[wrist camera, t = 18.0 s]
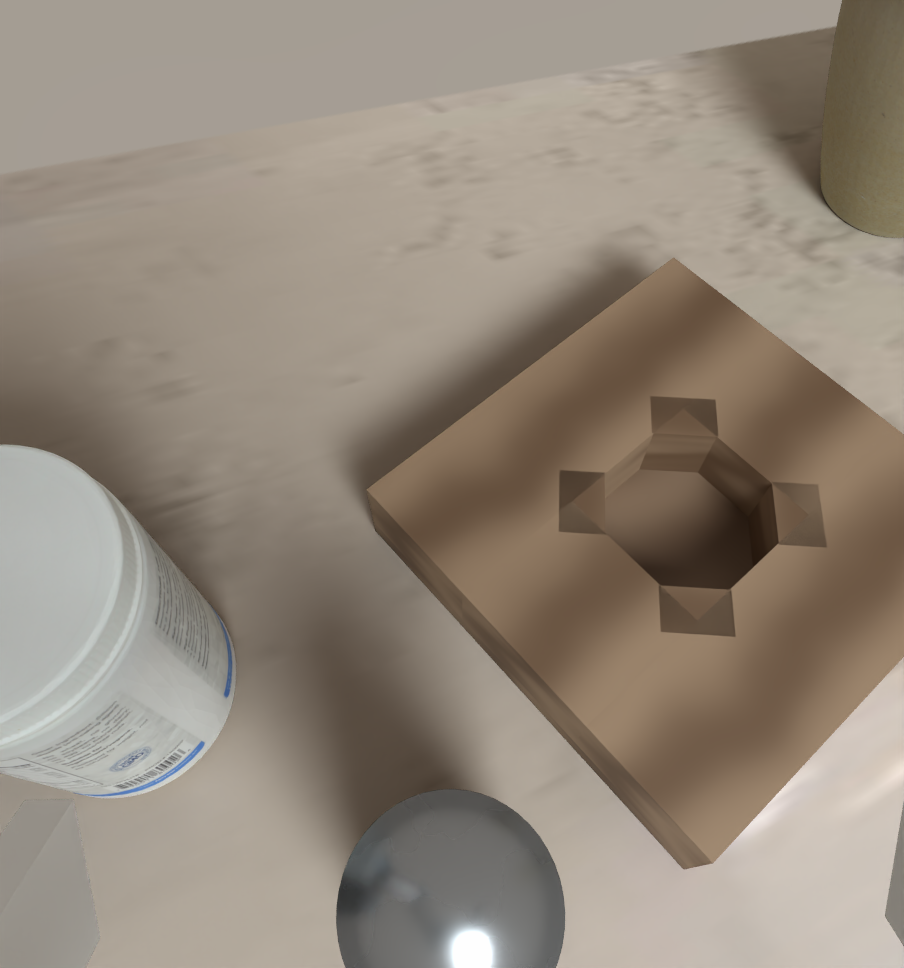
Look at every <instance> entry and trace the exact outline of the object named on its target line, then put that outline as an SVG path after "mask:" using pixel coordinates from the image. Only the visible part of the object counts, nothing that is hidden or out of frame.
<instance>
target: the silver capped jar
mask: <svg viewBox="0 0 904 968" xmlns="http://www.w3.org/2000/svg"><path fill="white" fill-rule="evenodd" d="M336 925H337V935H338V942H339V947H340V951H341V956H342V959H343V962H344V965H345V967H346V968H556V966H557V963H558V960H559V956H560V953H561V949H562V944H563V937H564V930H565V906H564V896H563V891H562V886H561V881H560V878H559V875H558V872H557V869H556V866H555V863H554V861H553V859H552V857H551V855H550V853H549V851H548V849H547V847H546V846H545V844H544V843H543V841H542V840H541V838H540V836H539V835H538V834H537V833H536V832H535V830H534V829H533V828H532V827H531V825H530V824H529V823H528V822H527V821H525V820H524V819H523V818H522V817H521V816H520V815H519V814H518V813H516V812H515V811H514V810H512V809H511V808H510V807H508V806H507V805H505V804H503V803H501V802H499V801H498V800H496V799H494V798H491V797H488V796H486V795H483V794H480V793H476V792H472V791H467V790H457V789H445V790H435V791H430V792H425V793H422V794H419V795H416V796H413V797H410V798H408V799H406V800H404V801H402V802H400V803H398V804H397V805H395V806H394V807H392V808H391V809H389V810H388V811H386V812H385V813H384V814H383V815H382V816H380V817H379V818H378V819H377V820H376V821H375V822H374V823H373V824H372V825H371V826H370V827H369V829H368V830H367V831H366V832H365V833H364V835H363V836H362V837H361V839H360V840H359V842H358V843H357V845H356V846H355V848H354V850H353V852H352V854H351V856H350V858H349V860H348V862H347V865H346V868H345V870H344V873H343V876H342V880H341V884H340V888H339V893H338V900H337V916H336Z"/></svg>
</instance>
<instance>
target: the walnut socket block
mask: <svg viewBox="0 0 904 968" xmlns="http://www.w3.org/2000/svg"><path fill="white" fill-rule="evenodd" d="M366 490H367V495H368V499H369V503H370V508H371V512H372V517H373V521H374V526H375V530H376V532H377V533H378V534H379V535H380V536H381V537H382V538H383V539H384V541H385V542H386V543H387V544H388V545H389V546H390V547H391V548H392V549H393V550H394V552H395V553H396V554H397V555H398V556H399V557H400V558H401V559H402V560H403V561H404V563H405V564H406V565H407V566H408V567H409V568H410V569H411V570H412V571H413V572H414V573H415V575H416V576H417V577H418V578H419V579H420V580H421V581H422V582H423V583H424V584H425V586H426V587H427V588H428V589H429V590H430V591H431V592H432V593H433V594H434V595H435V597H436V598H437V599H438V600H439V601H440V602H441V603H442V604H443V605H444V606H445V608H446V609H447V610H448V611H449V612H450V613H451V614H452V615H453V616H454V617H455V619H456V620H457V621H458V622H459V623H460V624H461V625H462V626H463V627H464V628H465V630H466V631H467V632H468V633H469V634H470V635H471V636H472V637H473V638H474V639H475V641H476V642H477V643H478V644H479V645H480V646H481V647H482V648H483V649H484V650H485V652H486V653H487V654H488V655H489V656H490V657H491V658H492V659H493V660H494V661H495V663H496V664H497V665H498V666H499V667H500V668H501V669H502V670H503V671H504V672H505V674H506V675H507V676H508V677H509V678H510V679H511V680H512V681H513V682H514V683H515V684H516V686H517V687H518V688H519V689H520V690H521V691H522V692H523V693H524V694H525V695H526V697H527V698H528V699H529V700H530V701H531V702H532V703H533V704H534V705H535V706H536V708H537V709H538V710H539V711H540V712H541V713H542V714H543V715H544V716H545V717H546V719H547V720H548V721H549V722H550V723H551V724H552V725H553V726H554V727H555V728H556V730H557V731H558V732H559V733H560V734H561V735H562V736H563V737H564V738H565V739H566V741H567V742H568V743H569V744H570V745H571V746H572V747H573V748H574V749H575V750H576V752H577V753H578V754H579V755H580V756H581V757H582V758H583V759H584V760H585V761H586V763H587V764H588V765H589V766H590V767H591V768H592V769H593V770H594V771H595V772H596V774H597V775H598V776H599V777H600V778H601V779H602V780H603V781H604V782H605V783H606V784H607V786H608V787H609V788H610V789H611V790H612V791H613V792H614V793H615V794H616V795H617V797H618V798H619V799H620V800H621V801H622V802H623V803H624V804H625V805H626V806H627V808H628V809H629V810H630V811H631V812H632V813H633V814H634V815H635V816H636V817H637V819H638V820H639V821H640V822H641V823H642V824H643V825H644V826H645V827H646V828H647V830H648V831H649V832H650V833H651V834H652V835H653V836H654V837H655V838H656V839H657V841H658V842H659V843H660V844H661V845H662V846H663V847H664V848H665V849H666V850H667V852H668V853H669V854H670V855H671V856H672V857H673V858H674V859H675V860H676V861H677V863H678V864H679V865H680V866H681V867H682V868H683V869H688V868H693V867H697V866H702V865H707V864H712V863H714V862H715V860H716V859H717V858H718V857H719V856H720V855H721V854H722V853H723V852H724V851H725V850H726V849H727V847H728V846H729V845H730V844H731V843H732V842H733V841H734V840H735V839H736V838H737V837H738V836H739V834H740V833H741V832H742V831H743V830H744V829H745V828H746V827H747V826H748V825H749V824H750V823H751V821H752V820H753V819H754V818H755V817H756V816H757V815H758V814H759V813H760V812H761V811H762V810H763V808H764V807H765V806H766V805H767V804H768V803H769V802H770V801H771V800H772V799H773V798H774V797H775V795H776V794H777V793H778V792H779V791H780V790H781V789H782V788H783V787H784V786H785V785H786V784H787V782H788V781H789V780H790V779H791V778H792V777H793V776H794V775H795V774H796V773H797V772H798V771H799V769H800V768H801V767H802V766H803V765H804V764H805V763H806V762H807V761H808V760H809V759H810V758H811V756H812V755H813V754H814V753H815V752H816V751H817V750H818V749H819V748H820V747H821V746H822V745H823V743H824V742H825V741H826V740H827V739H828V738H829V737H830V736H831V735H832V734H833V733H834V732H835V730H836V729H837V728H838V727H839V726H840V725H841V724H842V723H843V722H844V721H845V720H846V719H847V717H848V716H849V715H850V714H851V713H852V712H853V711H854V710H855V709H856V708H857V707H858V706H859V704H860V703H861V702H862V701H863V700H864V699H865V698H866V697H867V696H868V695H869V694H870V693H871V691H872V690H873V689H874V688H875V687H876V686H877V685H878V684H879V683H880V682H881V681H882V680H883V678H884V677H885V676H886V675H887V674H888V673H889V672H890V671H891V670H892V669H893V668H894V667H895V665H896V664H897V663H898V662H899V661H900V660H901V659H902V658H903V657H904V434H902V433H901V432H900V431H898V430H897V429H896V428H895V427H893V426H892V425H891V424H889V423H888V422H887V421H885V420H884V419H883V418H882V417H880V416H879V415H878V414H876V413H875V412H874V411H872V410H871V409H870V408H869V407H867V406H866V405H865V404H863V403H862V402H861V401H859V400H858V399H857V398H856V397H854V396H853V395H852V394H850V393H849V392H848V391H846V390H845V389H844V388H843V387H841V386H840V385H839V384H837V383H836V382H835V381H833V380H832V379H831V378H830V377H828V376H827V375H826V374H824V373H823V372H822V371H821V370H819V369H818V368H817V367H815V366H814V365H813V364H811V363H810V362H809V361H808V360H806V359H805V358H804V357H802V356H801V355H800V354H798V353H797V352H796V351H795V350H793V349H792V348H791V347H789V346H788V345H787V344H785V343H784V342H783V341H782V340H780V339H779V338H778V337H776V336H775V335H774V334H772V333H771V332H770V331H769V330H767V329H766V328H765V327H763V326H762V325H761V324H759V323H758V322H757V321H756V320H754V319H753V318H752V317H750V316H749V315H748V314H746V313H745V312H744V311H743V310H741V309H740V308H739V307H737V306H736V305H735V304H733V303H732V302H731V301H730V300H728V299H727V298H726V297H724V296H723V295H722V294H720V293H719V292H718V291H717V290H715V289H714V288H713V287H711V286H710V285H709V284H707V283H706V282H705V281H704V280H702V279H701V278H700V277H698V276H697V275H696V274H694V273H693V272H692V271H691V270H689V269H688V268H687V267H685V266H684V265H683V264H681V263H680V262H679V261H678V260H676V259H675V258H672V259H671V260H670V261H668V262H667V263H666V264H664V265H663V266H662V267H660V268H659V269H658V270H656V271H655V272H654V273H652V274H651V275H650V276H649V277H647V278H646V279H645V280H643V281H642V282H641V283H639V284H638V285H637V286H635V287H634V288H633V289H631V290H630V291H629V292H627V293H626V294H625V295H623V296H622V297H621V298H619V299H618V300H617V301H615V302H614V303H613V304H611V305H610V306H609V307H607V308H606V309H605V310H603V311H602V312H601V313H600V314H598V315H597V316H596V317H594V318H593V319H592V320H590V321H589V322H588V323H586V324H585V325H584V326H582V327H581V328H580V329H578V330H577V331H576V332H574V333H573V334H572V335H570V336H569V337H568V338H566V339H565V340H564V341H562V342H561V343H560V344H558V345H557V346H556V347H554V348H553V349H552V350H550V351H549V352H548V353H547V354H545V355H544V356H543V357H541V358H540V359H539V360H537V361H536V362H535V363H533V364H532V365H531V366H529V367H528V368H527V369H525V370H524V371H523V372H521V373H520V374H519V375H517V376H516V377H515V378H513V379H512V380H511V381H509V382H508V383H507V384H505V385H504V386H503V387H501V388H500V389H499V390H498V391H496V392H495V393H494V394H492V395H491V396H490V397H488V398H487V399H486V400H484V401H483V402H482V403H480V404H479V405H478V406H476V407H475V408H474V409H472V410H471V411H470V412H468V413H467V414H466V415H464V416H463V417H462V418H460V419H459V420H458V421H456V422H455V423H454V424H452V425H451V426H450V427H449V428H447V429H446V430H445V431H443V432H442V433H441V434H439V435H438V436H437V437H435V438H434V439H433V440H431V441H430V442H429V443H427V444H426V445H425V446H423V447H422V448H421V449H419V450H418V451H417V452H415V453H414V454H413V455H411V456H410V457H409V458H407V459H406V460H405V461H403V462H402V463H401V464H399V465H398V466H397V467H396V468H394V469H393V470H392V471H390V472H389V473H388V474H386V475H385V476H384V477H382V478H381V479H380V480H378V481H377V482H376V483H374V484H373V485H372V486H370V487H369V488H368V489H366Z"/></svg>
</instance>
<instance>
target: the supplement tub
mask: <svg viewBox="0 0 904 968" xmlns="http://www.w3.org/2000/svg"><path fill="white" fill-rule="evenodd" d="M235 685H236V658H235V652H234V647H233V643H232V641H231V638H230V635H229V633H228V631H227V628H226V626H225V625H224V623H223V621H222V620H221V618H220V617H219V615H218V614H217V613H216V611H215V610H214V609H213V608H212V606H211V605H210V604H209V603H208V602H207V601H206V599H205V598H204V597H203V596H202V595H201V594H200V593H199V591H198V590H197V589H196V588H195V587H194V586H193V584H192V583H191V582H190V581H189V580H188V579H187V577H186V576H185V575H184V574H183V573H182V572H181V571H180V569H179V568H178V567H177V566H176V565H175V564H174V562H173V561H172V560H171V559H170V558H169V557H168V555H167V554H166V553H165V552H164V551H163V550H162V549H161V547H160V546H159V545H158V544H157V543H156V542H155V540H154V539H153V538H152V537H151V536H150V535H149V534H148V532H147V531H146V530H145V529H144V528H143V527H142V525H141V524H140V523H139V522H138V521H137V520H136V518H135V517H134V516H133V515H132V514H131V513H130V512H129V511H128V510H127V509H126V508H125V506H124V505H123V504H122V503H121V502H120V501H119V500H118V499H117V498H116V497H115V496H114V495H113V494H112V493H111V492H110V491H109V490H108V489H107V488H105V487H104V486H103V485H102V484H100V483H99V482H98V481H96V480H95V479H93V478H92V477H91V476H89V475H88V474H87V473H86V472H85V471H84V470H83V469H81V468H80V467H78V466H77V465H75V464H74V463H72V462H70V461H68V460H67V459H65V458H63V457H61V456H58V455H56V454H54V453H51V452H48V451H45V450H41V449H37V448H33V447H27V446H21V445H8V444H3V445H0V773H2V774H6V775H9V776H13V777H16V778H20V779H24V780H28V781H32V782H36V783H40V784H44V785H47V786H51V787H54V788H58V789H61V790H65V791H69V792H73V793H77V794H81V795H86V796H90V797H97V798H122V797H129V796H135V795H139V794H143V793H147V792H149V791H152V790H154V789H157V788H159V787H161V786H163V785H165V784H167V783H169V782H171V781H172V780H174V779H176V778H177V777H179V776H180V775H182V774H183V773H184V772H186V771H187V770H188V769H189V768H191V767H192V766H193V765H194V764H195V763H196V762H197V761H198V760H199V759H200V758H201V757H202V756H203V755H204V754H205V753H206V752H207V750H208V749H209V748H210V747H211V745H212V744H213V743H214V741H215V740H216V738H217V737H218V735H219V733H220V732H221V730H222V728H223V726H224V724H225V722H226V720H227V717H228V715H229V712H230V709H231V706H232V702H233V698H234V693H235Z"/></svg>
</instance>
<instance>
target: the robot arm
mask: <svg viewBox="0 0 904 968" xmlns="http://www.w3.org/2000/svg"><path fill="white" fill-rule="evenodd" d="M885 917H886V919H887V920H888V922H889V923H890V925H891V927H892V928H893V930H894V931H895V933H896V935H897V936H898V938H899V939H900V941H901V943H902V944H903V946H904V804H903V810H902V816H901V822H900V828H899V834H898V840H897V846H896V852H895V858H894V864H893V870H892V876H891V882H890V888H889V894H888V900H887V906H886V912H885ZM99 939H100V932H99V927H98V922H97V917H96V912H95V907H94V902H93V896H92V891H91V886H90V881H89V876H88V871H87V865H86V860H85V855H84V850H83V845H82V840H81V834H80V829H79V824H78V819H77V814H76V809H75V803H74V799H52V800H25V801H24V802H23V804H22V805H21V806H20V808H19V809H18V811H17V812H16V813H15V815H14V816H13V818H12V819H11V821H10V822H9V823H8V825H7V826H6V828H5V829H4V830H3V832H2V833H1V835H0V968H86V966H87V964H88V962H89V960H90V958H91V956H92V954H93V951H94V949H95V947H96V945H97V943H98V941H99Z"/></svg>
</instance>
